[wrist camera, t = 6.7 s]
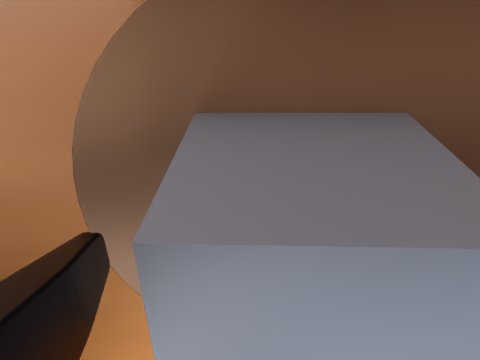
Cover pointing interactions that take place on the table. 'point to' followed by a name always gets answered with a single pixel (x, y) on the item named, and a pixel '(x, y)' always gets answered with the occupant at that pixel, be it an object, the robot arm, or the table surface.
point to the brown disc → (262, 86)
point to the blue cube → (312, 242)
